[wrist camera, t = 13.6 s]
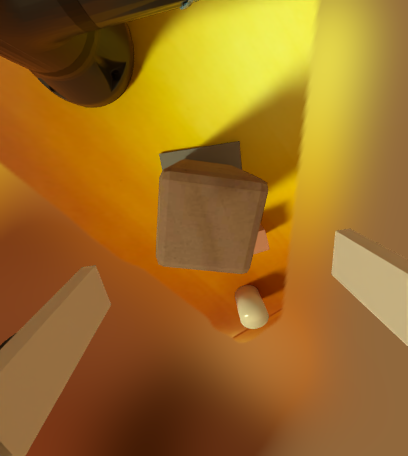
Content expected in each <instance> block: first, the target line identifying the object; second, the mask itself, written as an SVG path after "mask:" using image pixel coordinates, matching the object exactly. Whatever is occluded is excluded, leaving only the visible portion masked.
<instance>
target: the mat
mask: <svg viewBox="0 0 408 456" xmlns="http://www.w3.org/2000/svg"><path fill="white" fill-rule="evenodd" d="M159 156H160V160H161V165H162V170H163V169H165V168H167V167H169V166H171V165H173V164H175V163H177V162H179V161H180V160H184V159H189V160H196V161H204V162H211V163H219V164H227V165H232V166H234V167H236V168H239V169H241V170H242V167H241V155H240V142H239V141H237V142H231V143H225V144H218V145H212V146H206V147H200V148H194V149H187V150H181V151H175V152H169V153H163V154H159Z"/></svg>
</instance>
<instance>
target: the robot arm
mask: <svg viewBox="0 0 408 456" xmlns="http://www.w3.org/2000/svg"><path fill="white" fill-rule="evenodd" d="M196 1H199V0H0V56H2V57H4V58H6V59H8V60H10V61H12V62H14V63H16V64H19V65H21V66H23V67H25V68H27V69H29V70H30V71H31V72H32V73H33V74H34V75H35V76H36V77H37V78H38V79H39V80H40V82H41V83H42V84H43V85H44V86H46V87H47V88H48V89H49V90H50V91H51V92H53V93H54V94H56V95H57V96H59V97H60V98H62V99H64V100H66V101H69V102H71V103H74V104H77V105H80V106H84V107H101V106H105V105H107V104H110V103H112V102H113V101H115V100H116V99H117V98H118V97H119V96H120V95H121V94H122V93H123V92H124V91H125V89H126V87H127V85H128V84H129V81H130V79H131V75H132V71H133V65H134V49H133V43H132V38H131V34H130V31H129V28H128V26H127V24H126V22H129V21H133V20H136V19H140V18H143V17H147V16H151V15H154V14H158V13H161V12H165V11H169V10H172V9H176V8H180V9H186V8H188V7H189V6H190V5H191V4H192V3H193V2H196ZM332 275H333V276H334V277H335V278H336V279H337V280H338V281H339V282H340V283H341V284H342V285H343V286H344V287H345V288H347V289H348V290H349V291H350V292H351V293H352V294H353V295H354V296H355V297H356V298H357V299H358V300H359V301H360V302H361V303H362V304H364V305H365V306H366V307H367V308H368V309H369V310H370V311H371V312H372V313H373V314H374V315H375V316H376V317H377V318H378V319H379V320H380V321H382V322H383V323H384V324H385V325H386V326H387V327H388V328H389V329H390V330H391V331H392V332H393V333H394V334H395V335H396V336H397V337H398V338H399V339H401V340H402V341H403V342H404V343H405V344H406V345H407V346H408V259H407V258H405V257H403V256H401V255H399V254H397V253H396V252H394V251H391V250H390V249H388V248H386V247H384V246H382V245H380V244H378V243H377V242H375V241H373V240H371V239H369V238H367V237H365V236H363V235H361V234H359V233H357V232H356V231H354V230H352V229H344V230H337V231H336V233H335V243H334V254H333V265H332ZM110 306H111V303H110V300H109V298H108V295H107V293H106V291H105V288H104V285H103V283H102V280H101V278H100V275H99V273H98V270H97V268H96V265H94V266H87V267H82V268H81V269H80V270H79V271H78V272H77V273H76V274H75V275H74V276H73V277H72V278H71V279H70V280H69V281H68V282H67V283H66V284H65V285H64V286H63V287H62V288H61V289H60V290H59V291H58V292H57V293H56V294H55V295H54V296H53V297H52V298H51V299H50V300H49V301H48V302H47V303H46V304H45V305H44V306H43V307H42V308H41V309H40V310H39V311H38V312H37V313H36V314H35V315H34V316H33V317H32V318H31V319H30V320H29V321H28V322H27V323H26V324H25V325H24V326H23V328H21V329H20V330H19V331H18V332H17V333H16V334H14V335H13V336H11V337H10V338H9V339H7V340H6V341H5V342H4V343H2V345H0V456H25V455H26V454H27V452H28V450H29V448H30V447H31V445H32V443H33V441H34V439H35V437H36V436H37V434H38V432H39V431H40V429H41V427H42V425H43V424H44V422H45V420H46V418H47V417H48V415H49V413H50V411H51V409H52V408H53V406H54V404H55V402H56V401H57V399H58V397H59V395H60V394H61V392H62V390H63V388H64V387H65V385H66V383H67V381H68V380H69V378H70V376H71V374H72V373H73V371H74V369H75V367H76V365H77V363H78V362H79V360H80V358H81V357H82V355H83V353H84V351H85V350H86V348H87V346H88V344H89V343H90V341H91V339H92V337H93V336H94V334H95V332H96V330H97V329H98V327H99V325H100V323H101V322H102V320H103V318H104V316H105V314H106V313H107V311H108V309H109V307H110Z"/></svg>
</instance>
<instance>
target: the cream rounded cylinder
mask: <svg viewBox="0 0 408 456" xmlns="http://www.w3.org/2000/svg"><path fill="white" fill-rule="evenodd" d="M235 299H236V303H237V307H238V312H239V316H240V320H241V323H242V324H243V325H244V326H245V327H247V328H250V329H256V328H260V327H262V326H263V325H265V324H266V323H267V321H268V318H269V316H268V313H267V310H266V308H265V305H264V303H263V301H262V298H261V296H260V293H259V291H258V289H257V288H256V287H255V286H252V285H244V286H241V287H240V288H238V289H237V291H236V292H235Z"/></svg>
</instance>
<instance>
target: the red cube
mask: <svg viewBox="0 0 408 456" xmlns="http://www.w3.org/2000/svg"><path fill="white" fill-rule="evenodd" d="M266 250H269V245H268V241H267V237H266V233H265V229H264V228H263V227H262V226H261V224H260V227H259V232H258V236H257V240H256V244H255V248H254V253H253V254H256V253H259V252H263V251H266Z"/></svg>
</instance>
